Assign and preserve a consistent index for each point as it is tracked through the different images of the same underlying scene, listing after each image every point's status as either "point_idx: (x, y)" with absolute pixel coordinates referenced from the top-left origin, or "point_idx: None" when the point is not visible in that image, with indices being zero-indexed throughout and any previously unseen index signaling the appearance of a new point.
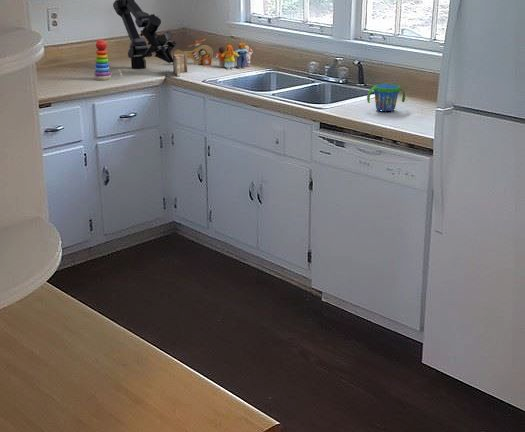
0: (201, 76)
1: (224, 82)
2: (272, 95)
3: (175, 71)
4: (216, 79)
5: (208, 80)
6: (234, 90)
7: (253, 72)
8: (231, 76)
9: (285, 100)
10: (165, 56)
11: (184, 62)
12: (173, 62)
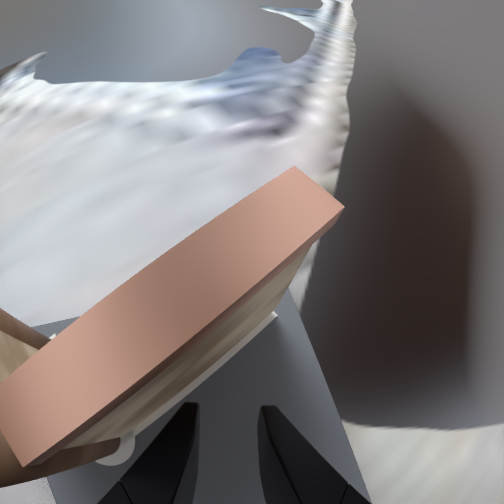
0: (127, 197)
1: (236, 75)
2: (311, 16)
3: (165, 400)
4: (186, 109)
5: (229, 124)
6: (329, 49)
7: (15, 95)
8: (95, 99)
9: (329, 11)
10: (347, 497)
11: (13, 330)
12: (78, 460)
